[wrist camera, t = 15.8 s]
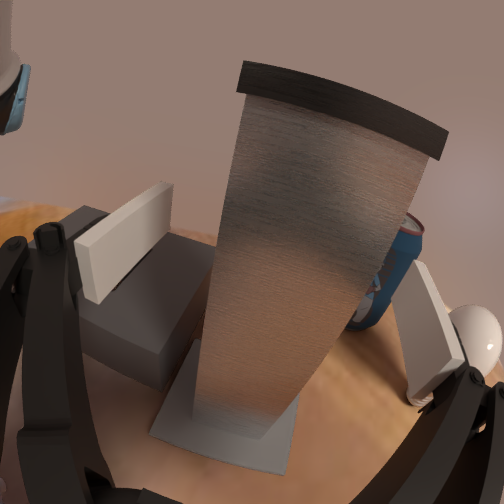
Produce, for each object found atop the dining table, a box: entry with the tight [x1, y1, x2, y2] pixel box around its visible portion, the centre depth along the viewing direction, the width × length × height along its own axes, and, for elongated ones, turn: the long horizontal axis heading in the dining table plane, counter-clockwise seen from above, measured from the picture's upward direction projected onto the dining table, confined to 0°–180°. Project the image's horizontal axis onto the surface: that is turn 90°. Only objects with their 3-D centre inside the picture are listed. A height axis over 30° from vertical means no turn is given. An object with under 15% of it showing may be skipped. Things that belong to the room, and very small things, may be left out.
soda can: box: [345, 212, 424, 331], centre depth 25 cm, size 7×7×12 cm
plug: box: [192, 61, 449, 441], centre depth 12 cm, size 5×5×19 cm
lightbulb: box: [406, 305, 503, 407], centre depth 17 cm, size 6×6×11 cm
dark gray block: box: [12, 205, 216, 392], centre depth 21 cm, size 16×12×5 cm
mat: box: [149, 338, 300, 476], centre depth 17 cm, size 9×9×1 cm
